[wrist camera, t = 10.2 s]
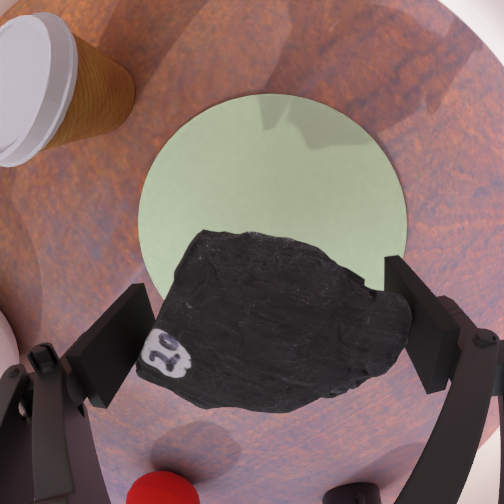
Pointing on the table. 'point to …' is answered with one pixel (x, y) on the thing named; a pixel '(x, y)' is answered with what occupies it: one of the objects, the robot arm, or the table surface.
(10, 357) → the vase
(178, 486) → the tomato
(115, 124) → the disposable coffee cup
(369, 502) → the mug
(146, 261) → the mat
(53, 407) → the robot arm
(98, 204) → the table surface
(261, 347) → the rock
